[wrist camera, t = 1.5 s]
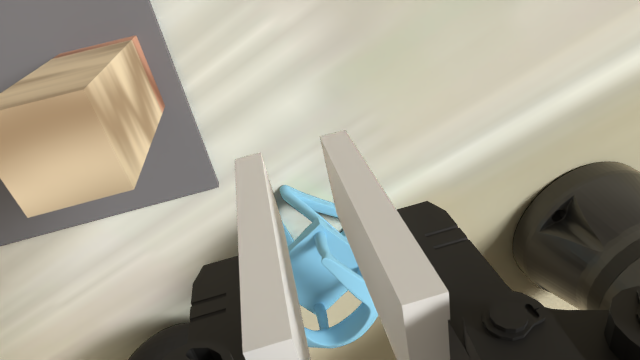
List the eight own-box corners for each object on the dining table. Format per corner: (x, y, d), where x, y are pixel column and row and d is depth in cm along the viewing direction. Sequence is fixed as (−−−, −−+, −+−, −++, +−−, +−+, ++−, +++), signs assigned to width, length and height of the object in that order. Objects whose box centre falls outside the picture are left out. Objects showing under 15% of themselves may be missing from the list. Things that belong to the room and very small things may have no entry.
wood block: (165, 105, 30) (134, 189, 20) (95, 123, 30) (27, 218, 20) (136, 35, 28) (83, 89, 18) (59, 53, 27) (-40, 120, 17)
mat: (218, 183, 35) (218, 187, 34) (-17, 246, 34) (-20, 251, 33) (109, -104, 25) (107, -106, 24) (-235, -29, 23) (-245, -28, 23)
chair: (301, 164, 36) (331, 254, 25) (365, 216, 39) (413, 313, 29) (240, 225, 37) (245, 331, 27) (307, 269, 41) (333, 377, 31)
